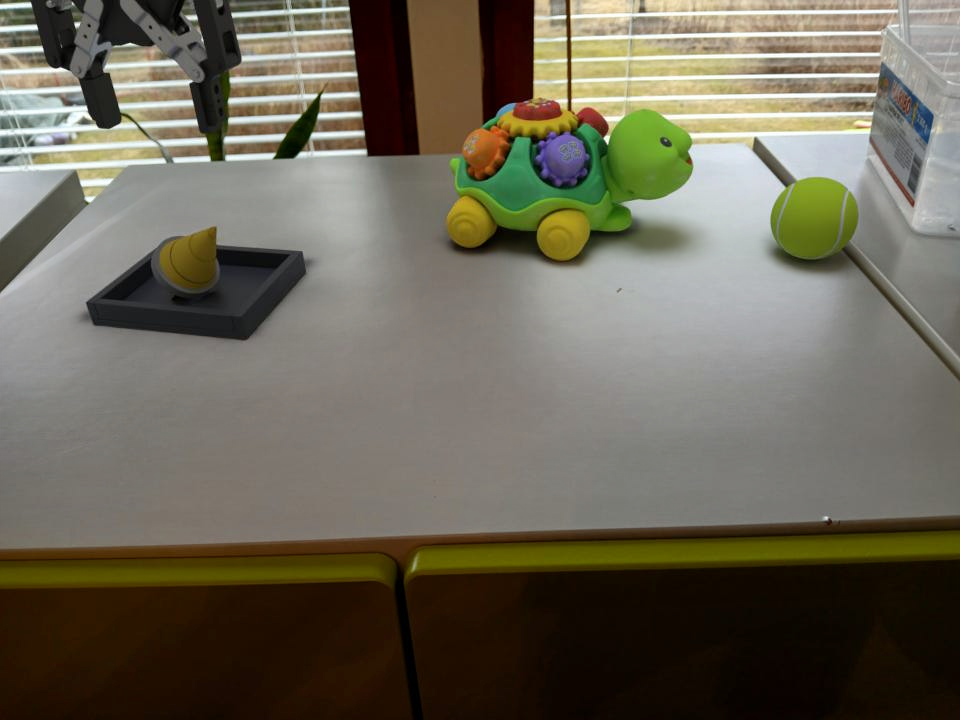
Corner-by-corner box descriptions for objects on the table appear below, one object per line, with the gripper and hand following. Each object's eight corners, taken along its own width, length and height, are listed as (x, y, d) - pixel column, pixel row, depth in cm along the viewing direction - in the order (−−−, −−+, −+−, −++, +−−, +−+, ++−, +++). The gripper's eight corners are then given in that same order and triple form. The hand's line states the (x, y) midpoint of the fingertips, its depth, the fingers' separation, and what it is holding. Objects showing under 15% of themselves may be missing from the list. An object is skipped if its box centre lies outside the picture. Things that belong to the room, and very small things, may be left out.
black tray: (92, 324, 64) (84, 302, 63) (170, 261, 73) (164, 240, 72) (246, 339, 61) (241, 316, 60) (306, 272, 71) (302, 250, 70)
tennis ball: (853, 247, 71) (871, 171, 67) (842, 279, 66) (861, 200, 62) (773, 233, 74) (786, 160, 70) (756, 264, 69) (770, 187, 65)
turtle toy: (670, 281, 67) (685, 144, 60) (418, 248, 74) (408, 122, 68) (696, 206, 80) (711, 87, 74) (480, 184, 87) (477, 74, 81)
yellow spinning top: (210, 273, 71) (255, 216, 64) (195, 322, 68) (240, 268, 61) (150, 247, 68) (191, 184, 61) (132, 297, 65) (172, 238, 58)
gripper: (227, -129, 52) (269, 118, 61) (41, -125, 55) (107, 110, 64) (165, -123, 46) (222, 150, 55) (-41, -119, 49) (45, 140, 58)
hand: (160, 128), depth 60 cm, fingers open, 8 cm apart
